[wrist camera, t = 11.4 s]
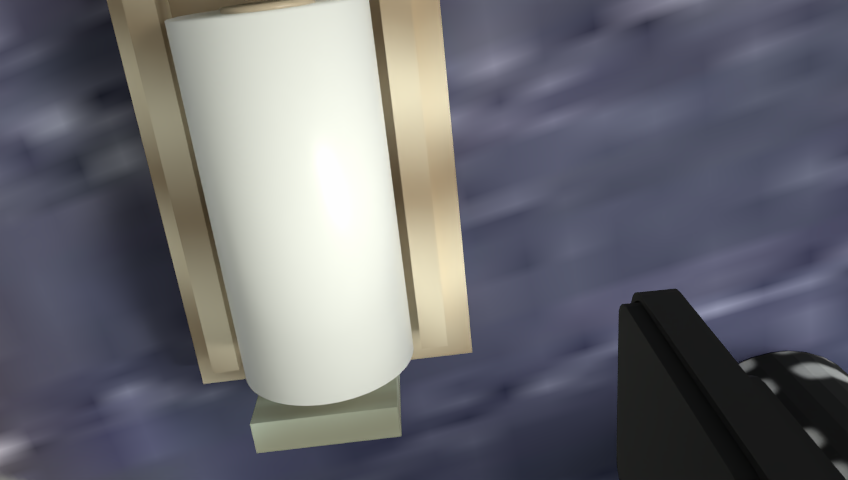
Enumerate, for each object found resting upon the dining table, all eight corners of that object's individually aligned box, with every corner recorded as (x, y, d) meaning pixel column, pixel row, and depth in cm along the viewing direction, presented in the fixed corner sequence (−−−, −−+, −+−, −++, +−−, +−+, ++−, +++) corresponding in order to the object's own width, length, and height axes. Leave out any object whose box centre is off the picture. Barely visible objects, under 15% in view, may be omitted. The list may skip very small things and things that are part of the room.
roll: (182, 8, 24) (141, 22, 19) (362, -13, 25) (374, -5, 19) (253, 334, 29) (238, 423, 23) (404, 310, 29) (424, 392, 24)
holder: (110, -47, 25) (24, -48, 19) (429, -84, 25) (442, -95, 19) (211, 364, 31) (169, 463, 25) (468, 334, 31) (487, 426, 25)
